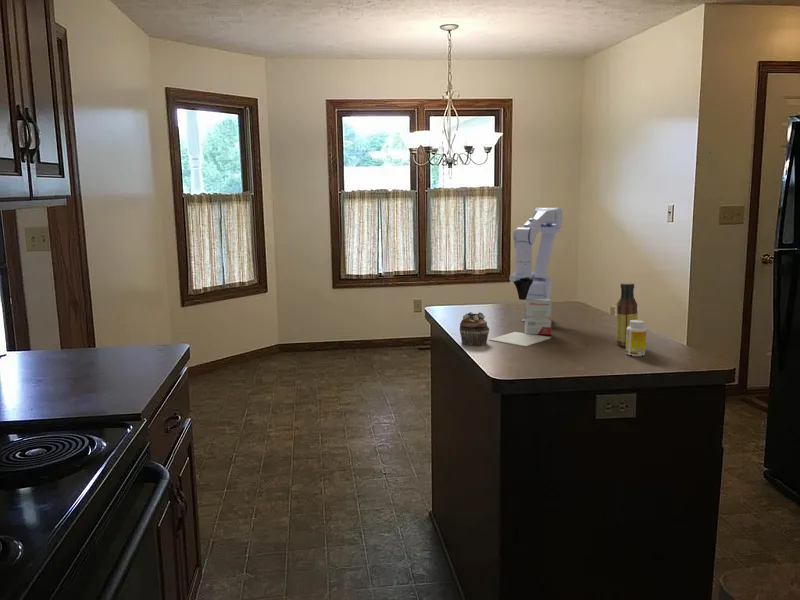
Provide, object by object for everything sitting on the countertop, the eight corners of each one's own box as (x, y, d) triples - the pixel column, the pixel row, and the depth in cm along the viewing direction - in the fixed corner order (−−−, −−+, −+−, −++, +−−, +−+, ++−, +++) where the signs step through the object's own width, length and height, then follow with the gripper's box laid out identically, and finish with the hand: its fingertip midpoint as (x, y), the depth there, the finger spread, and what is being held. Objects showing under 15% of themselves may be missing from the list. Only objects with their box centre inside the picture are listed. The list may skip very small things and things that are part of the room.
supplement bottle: (649, 355, 192) (651, 321, 190) (635, 357, 189) (637, 323, 188) (634, 351, 197) (636, 318, 195) (621, 353, 194) (622, 320, 193)
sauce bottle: (637, 344, 206) (641, 282, 203) (636, 348, 201) (639, 284, 198) (616, 342, 209) (619, 281, 206) (613, 346, 204) (617, 283, 200)
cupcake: (455, 345, 206) (456, 314, 204) (463, 339, 215) (463, 309, 213) (485, 347, 203) (486, 316, 201) (492, 341, 212) (492, 311, 210)
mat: (515, 332, 225) (515, 331, 225) (551, 338, 216) (551, 337, 216) (488, 340, 213) (488, 339, 213) (525, 346, 204) (525, 345, 204)
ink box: (549, 332, 225) (551, 298, 223) (551, 335, 220) (553, 300, 218) (524, 331, 225) (525, 297, 224) (525, 333, 221) (527, 299, 219)
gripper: (524, 259, 237) (523, 296, 239) (502, 262, 226) (501, 300, 228) (541, 260, 232) (540, 298, 234) (519, 263, 221) (518, 302, 224)
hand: (522, 299), depth 231 cm, fingers closed
